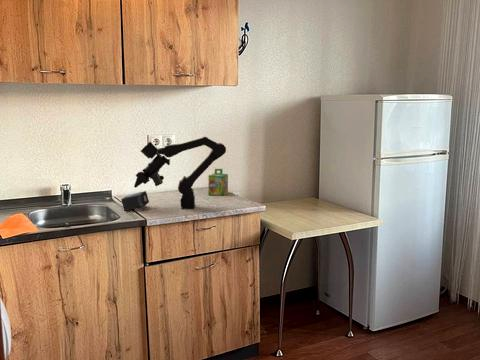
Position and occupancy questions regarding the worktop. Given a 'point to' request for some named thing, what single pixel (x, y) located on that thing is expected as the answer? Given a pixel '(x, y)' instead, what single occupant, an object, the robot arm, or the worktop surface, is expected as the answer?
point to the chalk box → (218, 183)
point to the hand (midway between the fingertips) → (134, 187)
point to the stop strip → (139, 208)
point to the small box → (135, 200)
